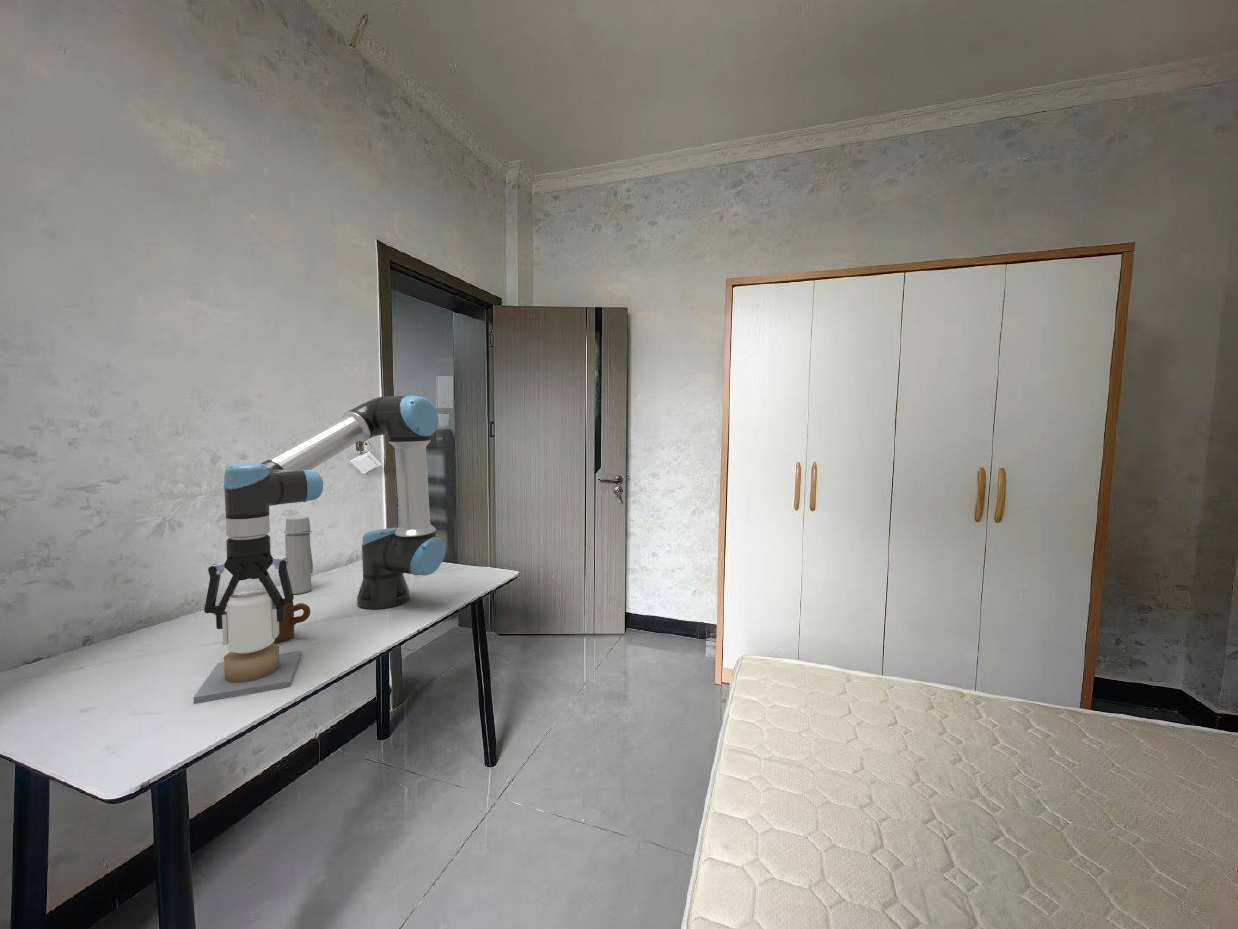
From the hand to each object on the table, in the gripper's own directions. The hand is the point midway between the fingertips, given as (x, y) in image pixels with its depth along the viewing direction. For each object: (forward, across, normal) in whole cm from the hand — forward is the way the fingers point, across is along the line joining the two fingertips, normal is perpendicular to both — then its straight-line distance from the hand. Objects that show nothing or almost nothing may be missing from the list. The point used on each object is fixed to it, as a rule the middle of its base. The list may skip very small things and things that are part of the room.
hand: (252, 639), depth 107 cm
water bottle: (+9, -1, -64) cm, 65 cm away
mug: (+9, -3, -21) cm, 23 cm away
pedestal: (+8, 0, 0) cm, 8 cm away
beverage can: (+2, 0, 0) cm, 2 cm away
